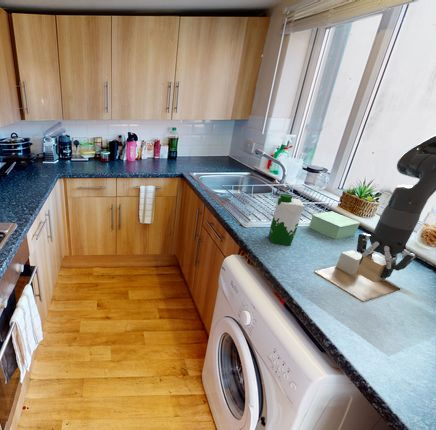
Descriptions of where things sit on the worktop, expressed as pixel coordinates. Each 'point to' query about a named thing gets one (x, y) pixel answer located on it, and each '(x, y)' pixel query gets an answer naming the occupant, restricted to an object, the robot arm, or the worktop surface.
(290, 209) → the milk carton
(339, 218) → the storage box
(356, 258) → the cream box
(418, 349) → the worktop surface
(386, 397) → the worktop surface
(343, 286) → the shiny metal sheet
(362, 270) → the kraft box
